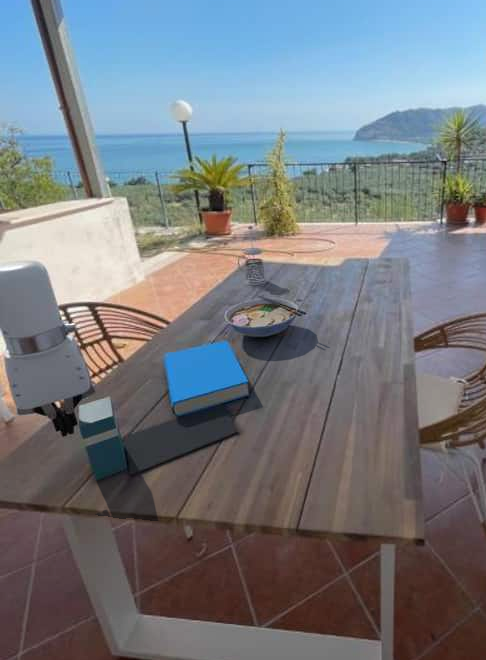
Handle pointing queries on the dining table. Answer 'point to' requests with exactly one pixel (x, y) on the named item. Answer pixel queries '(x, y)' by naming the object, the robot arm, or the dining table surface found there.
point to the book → (204, 377)
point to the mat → (177, 437)
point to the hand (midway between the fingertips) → (68, 430)
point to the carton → (102, 437)
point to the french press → (253, 261)
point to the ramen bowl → (262, 316)
